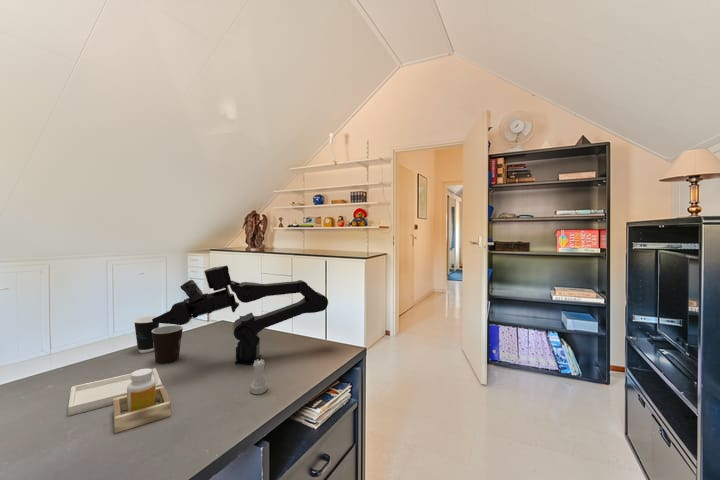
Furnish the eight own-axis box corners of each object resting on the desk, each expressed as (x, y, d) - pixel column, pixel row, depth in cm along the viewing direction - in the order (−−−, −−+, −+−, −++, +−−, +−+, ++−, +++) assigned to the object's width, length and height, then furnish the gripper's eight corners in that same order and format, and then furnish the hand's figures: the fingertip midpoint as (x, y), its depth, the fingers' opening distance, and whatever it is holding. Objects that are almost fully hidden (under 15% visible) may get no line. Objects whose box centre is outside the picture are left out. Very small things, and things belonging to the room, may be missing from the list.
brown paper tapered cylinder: (172, 365, 98) (172, 334, 97) (144, 365, 98) (145, 333, 97) (192, 351, 109) (193, 323, 109) (168, 350, 109) (168, 322, 109)
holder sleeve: (163, 397, 79) (163, 385, 79) (170, 415, 72) (170, 402, 71) (113, 411, 73) (113, 398, 73) (114, 433, 65) (114, 418, 65)
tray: (155, 374, 91) (155, 368, 91) (161, 391, 82) (162, 384, 82) (71, 394, 80) (71, 386, 80) (68, 416, 71) (68, 407, 71)
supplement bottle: (160, 410, 73) (160, 369, 73) (136, 423, 69) (136, 379, 68) (146, 405, 76) (146, 365, 76) (121, 416, 71) (121, 374, 71)
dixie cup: (161, 344, 115) (161, 314, 115) (159, 352, 108) (159, 320, 108) (135, 347, 111) (135, 317, 111) (131, 355, 104) (131, 323, 104)
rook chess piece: (270, 388, 85) (271, 359, 85) (260, 396, 81) (261, 365, 81) (257, 385, 87) (257, 356, 86) (246, 393, 82) (246, 362, 82)
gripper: (211, 276, 107) (160, 289, 102) (200, 278, 89) (138, 295, 84) (220, 307, 107) (169, 322, 102) (211, 316, 89) (149, 335, 85)
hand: (157, 318), depth 93 cm, fingers open, 9 cm apart
